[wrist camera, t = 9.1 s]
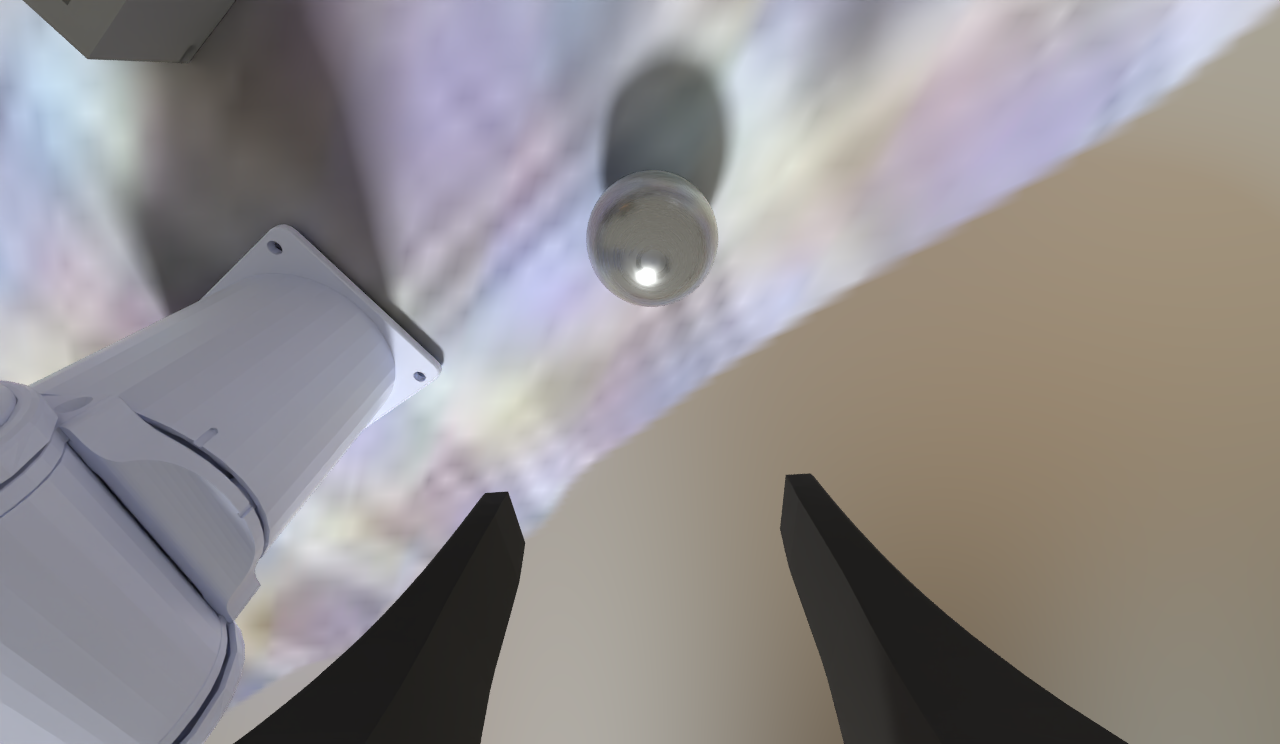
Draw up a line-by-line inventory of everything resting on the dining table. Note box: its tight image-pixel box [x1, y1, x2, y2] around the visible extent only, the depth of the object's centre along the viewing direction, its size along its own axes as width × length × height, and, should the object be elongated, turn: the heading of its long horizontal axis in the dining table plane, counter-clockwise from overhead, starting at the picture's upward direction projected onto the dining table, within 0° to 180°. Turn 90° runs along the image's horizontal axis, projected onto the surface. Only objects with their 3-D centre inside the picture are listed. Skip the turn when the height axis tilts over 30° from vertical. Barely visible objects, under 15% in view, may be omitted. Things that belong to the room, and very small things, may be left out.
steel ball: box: [586, 170, 718, 307], centre depth 16 cm, size 4×4×4 cm
